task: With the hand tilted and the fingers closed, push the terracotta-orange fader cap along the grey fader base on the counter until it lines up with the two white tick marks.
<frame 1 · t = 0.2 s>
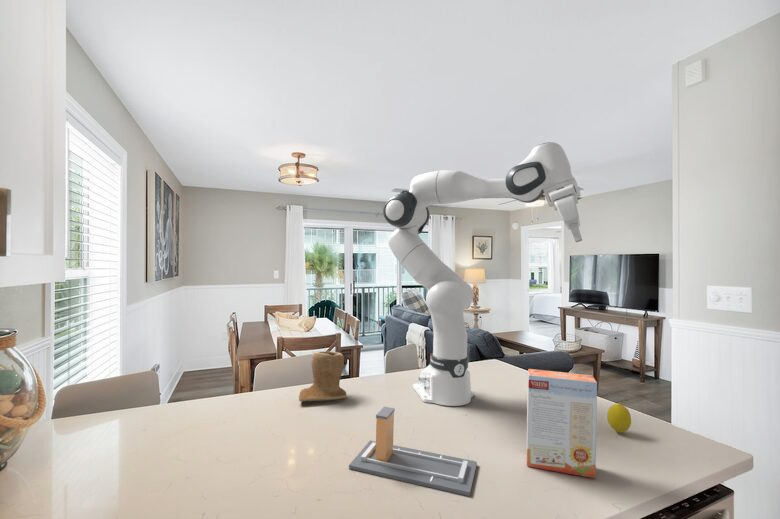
hand: (578, 240, 108), 52 cm above the table, tool tilted 20°, fingers open, 8 cm apart
cracker box: (558, 467, 86), on the table
tan ugg boot: (322, 398, 124), on the table
fader cap: (384, 434, 87), point 6 cm above the table, slide at -7.0 cm
grey fader base: (413, 466, 85), on the table
lemon: (618, 433, 104), on the table
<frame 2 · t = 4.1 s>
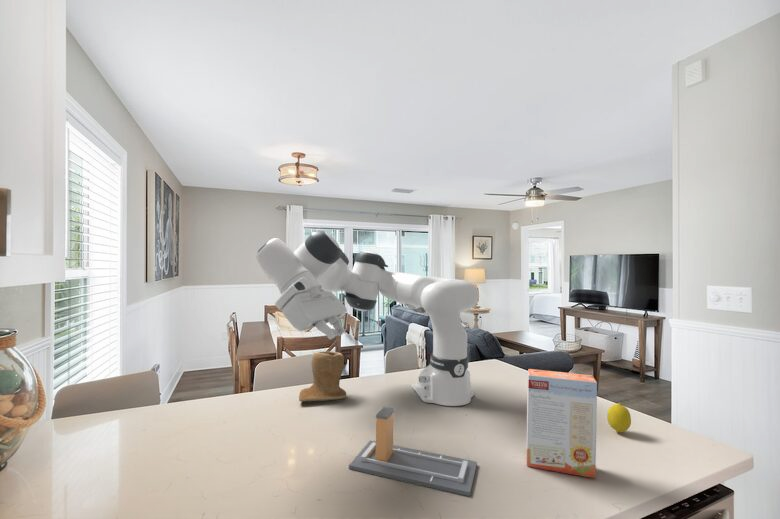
hand: (338, 335, 91), 27 cm above the table, tool tilted 45°, fingers open, 3 cm apart
nothing on the table moved.
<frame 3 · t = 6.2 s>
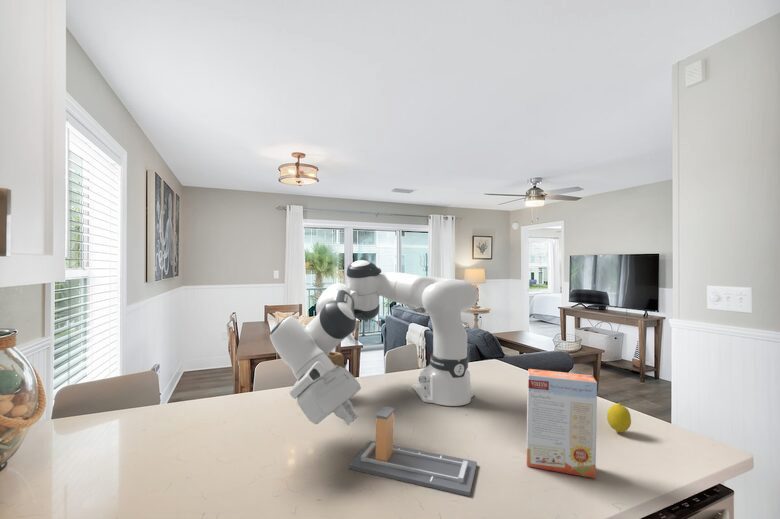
hand: (353, 421, 89), 8 cm above the table, tool tilted 45°, fingers closed
nothing on the table moved.
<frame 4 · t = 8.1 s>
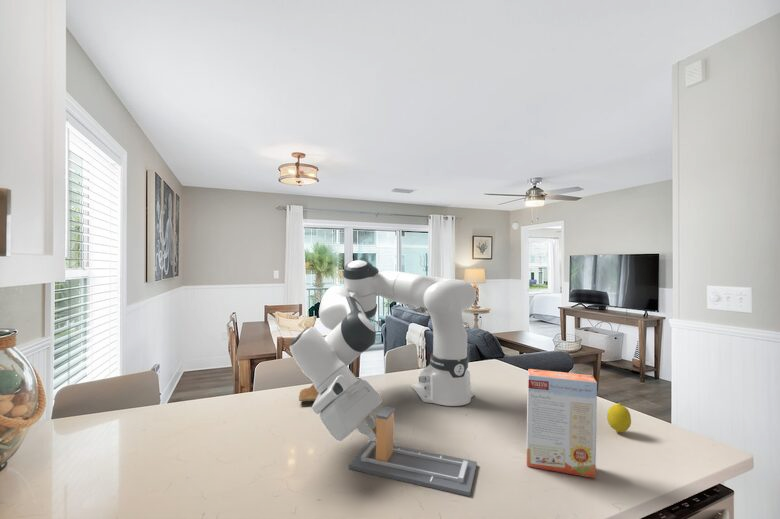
hand: (376, 436, 87), 5 cm above the table, tool tilted 45°, fingers closed, pressing on fader cap
fader cap: (385, 434, 87), point 6 cm above the table, slide at -7.0 cm, touching gripper
everything else where it was.
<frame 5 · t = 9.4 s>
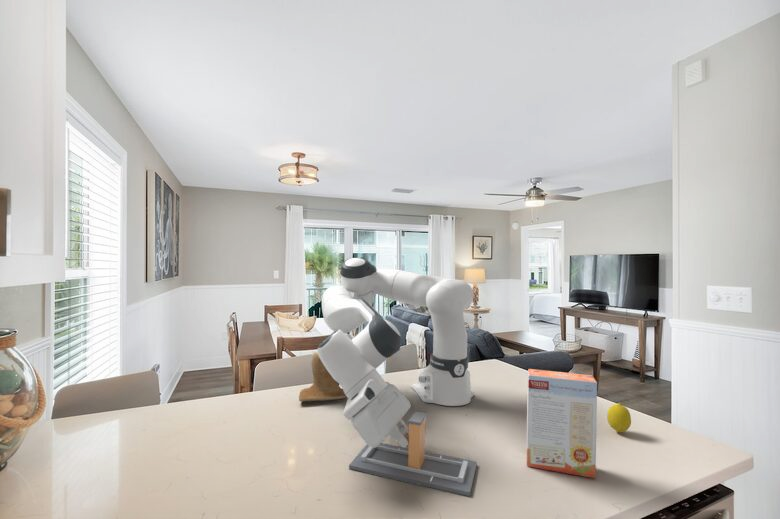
hand: (408, 443, 84), 5 cm above the table, tool tilted 45°, fingers closed
fader cap: (417, 440, 84), point 6 cm above the table, slide at 0.6 cm, touching gripper
everything else where it was.
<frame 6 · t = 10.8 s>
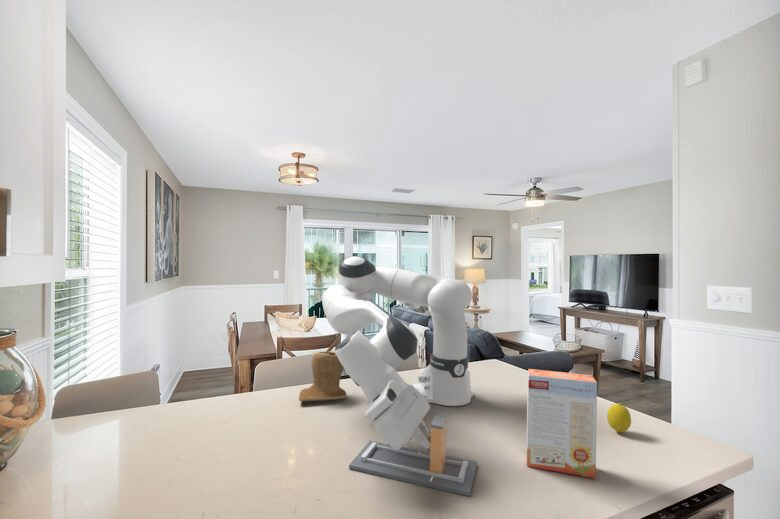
hand: (430, 444, 83), 6 cm above the table, tool tilted 45°, fingers closed, pressing on fader cap
fader cap: (438, 444, 83), point 6 cm above the table, slide at 5.4 cm, touching gripper
everything else where it was.
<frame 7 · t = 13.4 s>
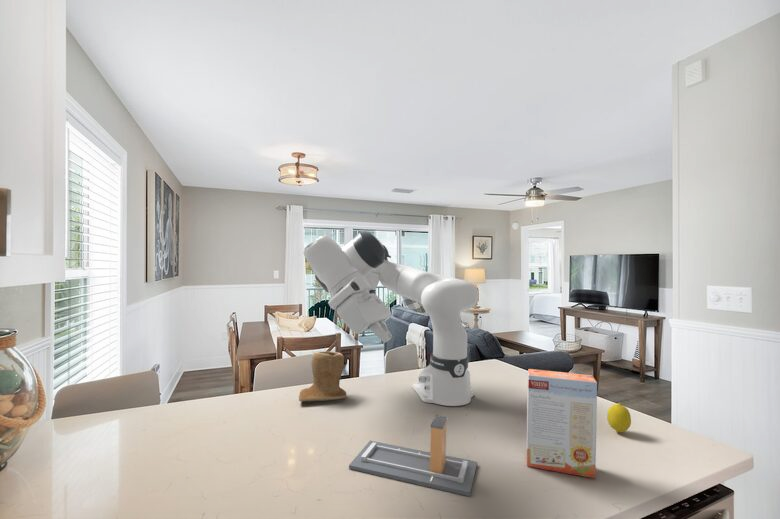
hand: (388, 340, 87), 27 cm above the table, tool tilted 40°, fingers closed
fader cap: (438, 444, 83), point 6 cm above the table, slide at 5.4 cm
everything else where it was.
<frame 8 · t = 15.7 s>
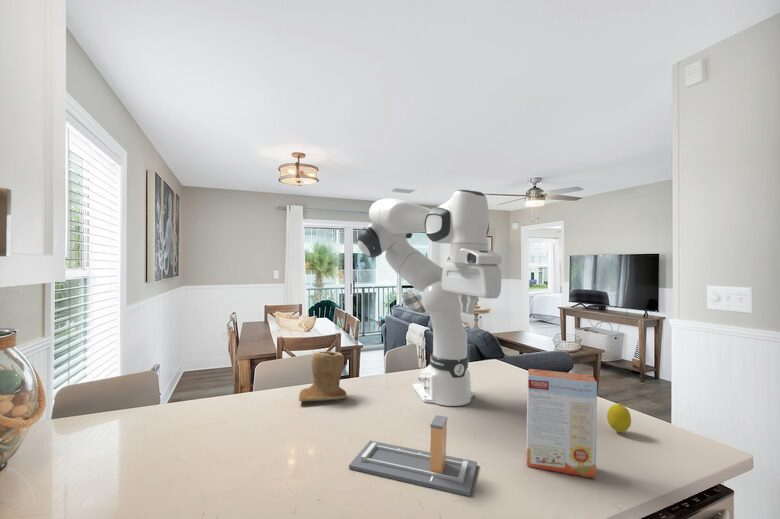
hand: (467, 313, 93), 33 cm above the table, tool pointing down, fingers closed
nothing on the table moved.
at the end: fader cap slide at 5.4 cm; fader cap touching nothing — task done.
